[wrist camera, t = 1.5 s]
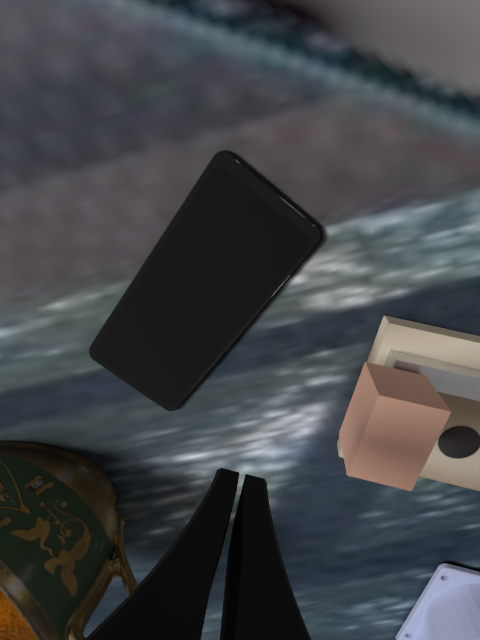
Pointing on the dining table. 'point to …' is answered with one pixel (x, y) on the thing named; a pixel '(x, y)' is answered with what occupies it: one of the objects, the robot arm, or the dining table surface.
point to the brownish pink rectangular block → (391, 426)
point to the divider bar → (439, 373)
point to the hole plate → (466, 414)
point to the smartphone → (205, 281)
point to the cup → (55, 542)
